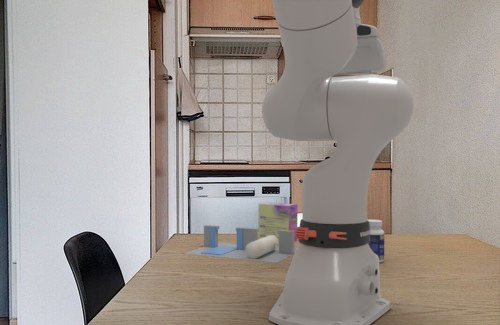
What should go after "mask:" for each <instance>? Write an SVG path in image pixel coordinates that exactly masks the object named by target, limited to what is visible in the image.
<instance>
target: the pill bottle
mask: <svg viewBox="0 0 500 325" xmlns="http://www.w3.org/2000/svg"><path fill="white" fill-rule="evenodd" d="M367 220H368V221H369V223H370V242H369V243H368V244H369V246H370V248H371V250H372V251H373V252H374V253H375V254H376V255H377V256H378V257H379V264H381V263H384V262H385V231H384V230H383V229H382V226H383V221H382V220H380V219H367Z"/></svg>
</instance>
